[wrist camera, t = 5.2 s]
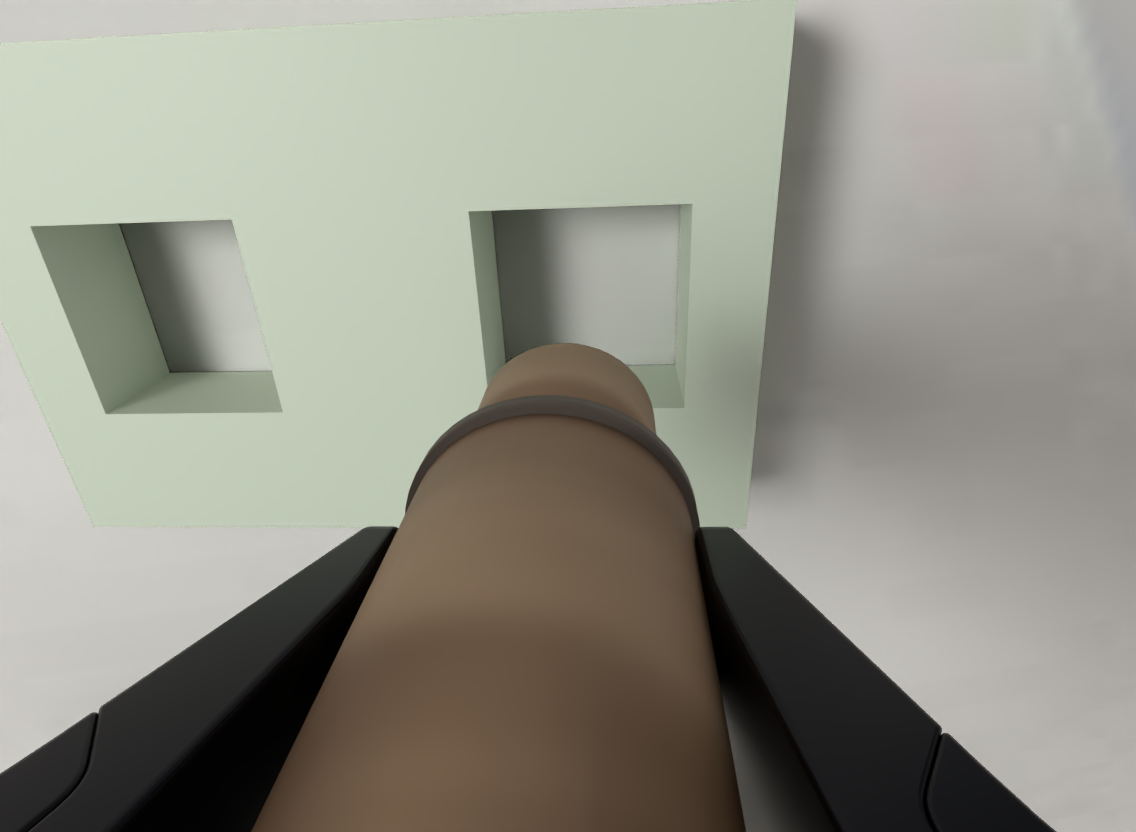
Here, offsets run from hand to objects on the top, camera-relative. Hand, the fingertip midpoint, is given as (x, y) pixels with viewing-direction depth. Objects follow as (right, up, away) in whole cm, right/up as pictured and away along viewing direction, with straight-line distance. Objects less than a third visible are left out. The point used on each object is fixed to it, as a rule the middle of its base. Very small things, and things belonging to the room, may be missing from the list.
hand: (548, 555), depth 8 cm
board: (-5, +6, +11) cm, 13 cm away
